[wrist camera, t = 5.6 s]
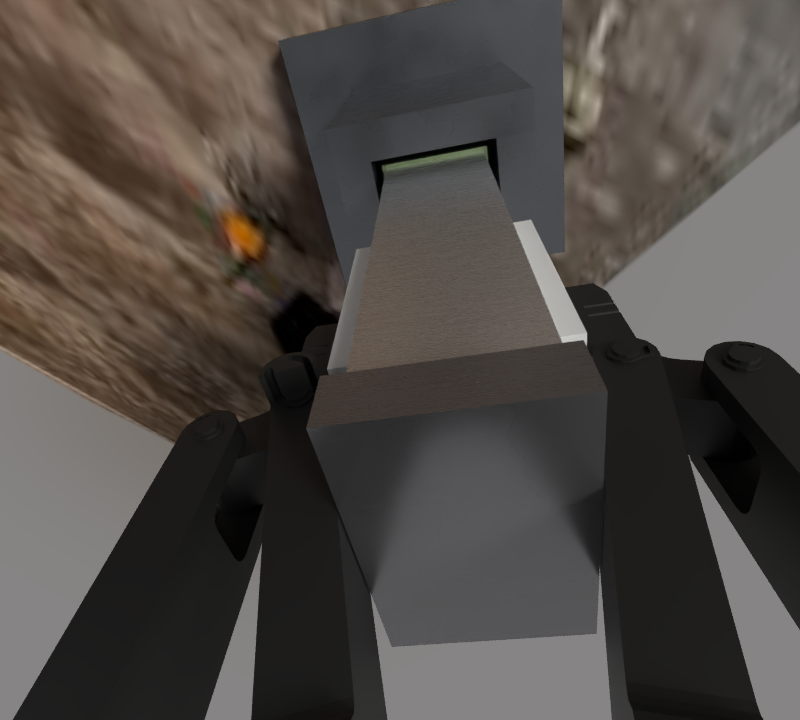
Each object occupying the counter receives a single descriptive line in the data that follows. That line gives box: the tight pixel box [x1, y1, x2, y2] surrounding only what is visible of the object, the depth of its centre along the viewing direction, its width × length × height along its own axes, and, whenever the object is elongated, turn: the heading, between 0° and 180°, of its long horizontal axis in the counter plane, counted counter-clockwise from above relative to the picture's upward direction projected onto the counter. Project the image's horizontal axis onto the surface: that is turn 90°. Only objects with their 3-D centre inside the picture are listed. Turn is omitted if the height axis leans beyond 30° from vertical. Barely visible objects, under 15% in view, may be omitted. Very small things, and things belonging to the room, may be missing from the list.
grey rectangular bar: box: [306, 140, 608, 647], centre depth 17 cm, size 4×6×21 cm
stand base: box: [279, 0, 565, 287], centre depth 26 cm, size 14×14×11 cm
